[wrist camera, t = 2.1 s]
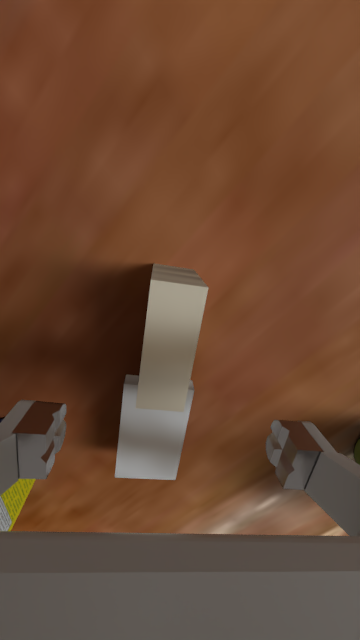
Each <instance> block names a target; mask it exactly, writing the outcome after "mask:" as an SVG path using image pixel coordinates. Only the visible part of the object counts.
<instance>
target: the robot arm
mask: <svg viewBox="0 0 360 640" xmlns="http://www.w3.org/2000/svg"><path fill="white" fill-rule="evenodd" d="M65 414H66V405H65V404H64V403H53V402H43V401H31V400H21V401H19V402H18V403H17V404H16V405H15V406H14V407H13V409H12V410H11V411H10V412H9V413H8V414H7V416H6V417H5V418H4V419H3V420H2V422H1V423H0V495H2V494H3V493H4V492H5V491H6V490H8V489H9V488H10V487H11V486H12V485H14V484H15V483H16V482H17V481H18V479H47V477H48V474H49V472H50V470H51V468H52V466H53V464H54V459H55V454H56V453H57V452H58V451H60V448H61V446H62V444H63V440H64V437H65V431H66V422H65V421H64V420H63V418H64V416H65ZM271 430H272V433H271V434H270V435H269V436H268V437H267V441H266V453H267V457H268V459H269V461H270V462H271V463H272V464H273V465H274V466H275V467H276V470H275V473H276V475H277V477H278V479H279V481H280V483H281V485H282V487H283V489H297V490H305V492H306V493H307V494H308V495H309V496H310V497H311V498H312V499H313V500H314V501H315V502H316V503H317V504H318V505H319V506H320V507H321V508H322V509H323V510H324V511H325V512H326V513H327V514H328V515H329V516H330V517H331V518H332V519H333V520H334V521H335V522H336V523H337V524H338V525H339V526H340V527H341V528H342V529H343V530H344V531H345V532H346V533H347V534H348V535H349V536H304V535H234V534H166V533H97V532H28V531H0V640H360V465H359V464H357V463H356V462H354V461H353V460H351V459H349V458H348V457H346V456H345V455H343V454H342V453H337V452H336V451H335V449H334V448H333V447H332V446H331V444H330V443H329V442H328V441H327V440H326V438H325V437H324V436H323V435H322V434H321V432H320V431H319V430H318V429H317V427H316V426H315V425H314V424H313V423H311V422H309V421H286V420H274V421H273V422H272V425H271Z"/></svg>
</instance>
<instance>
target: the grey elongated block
mask: <svg viewBox="0 0 360 640" xmlns="http://www.w3.org/2000/svg"><path fill="white" fill-rule="evenodd" d="M207 292H208V287H207V285H206V284H205V283H204V282H203V280H202V279H201V278H200V277H199V275H198V274H197V273H196V272H195V271H194V270H193V269H187V268H180V267H173V266H167V265H160V264H153V270H152V276H151V283H150V291H149V299H148V307H147V316H146V324H145V332H144V341H143V349H142V357H141V366H140V374H139V376H138V375H127V374H126V377H125V382H124V389H123V399H122V409H121V420H120V430H119V440H118V450H117V460H116V471H115V477H117V478H141V479H165V480H176V475H177V470H178V465H179V460H180V456H181V451H182V446H183V441H184V437H185V432H186V427H187V422H188V417H189V413H190V408H191V403H192V398H193V394H194V387H193V382H192V381H191V380H190V377H191V372H192V367H193V362H194V357H195V352H196V347H197V342H198V337H199V332H200V327H201V322H202V317H203V312H204V307H205V302H206V297H207Z"/></svg>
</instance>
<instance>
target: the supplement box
mask: <svg viewBox="0 0 360 640" xmlns="http://www.w3.org/2000/svg"><path fill="white" fill-rule="evenodd" d="M2 420H3V419H0V423H1V422H2ZM35 480H36V479H18V481H17V482H16V483H15V484H14V485H12V486H11V487H10V488H9V489H8V490H6V491H5V492H4V493H3V494H2V495H0V531H11V529H12V527H13V525H14V523H15V521H16V519H17V517H18V515H19V513H20V511H21V509H22V507H23V504H24V502H25V500H26V498H27V496H28V494H29V492H30V490H31V488H32V486H33V484H34V482H35Z"/></svg>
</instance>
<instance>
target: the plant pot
mask: <svg viewBox="0 0 360 640" xmlns="http://www.w3.org/2000/svg"><path fill="white" fill-rule="evenodd" d="M354 458H355V461H356V463H357V464H359V465H360V438H359V440H358V442H357V444H356V446H355V449H354Z"/></svg>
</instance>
